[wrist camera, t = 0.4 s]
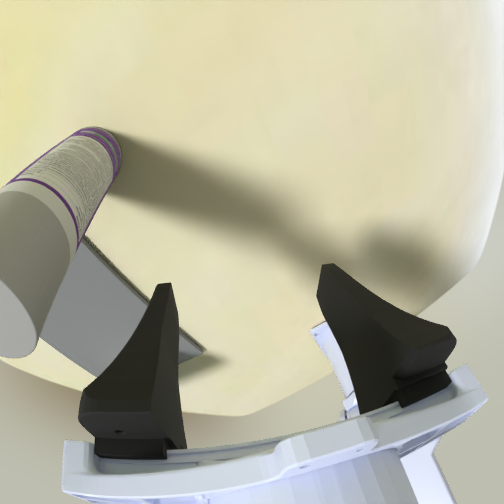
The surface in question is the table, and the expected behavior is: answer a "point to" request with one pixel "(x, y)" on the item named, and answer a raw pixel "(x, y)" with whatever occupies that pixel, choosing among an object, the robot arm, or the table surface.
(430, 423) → the robot arm
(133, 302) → the mat
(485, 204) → the table surface
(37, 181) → the container
